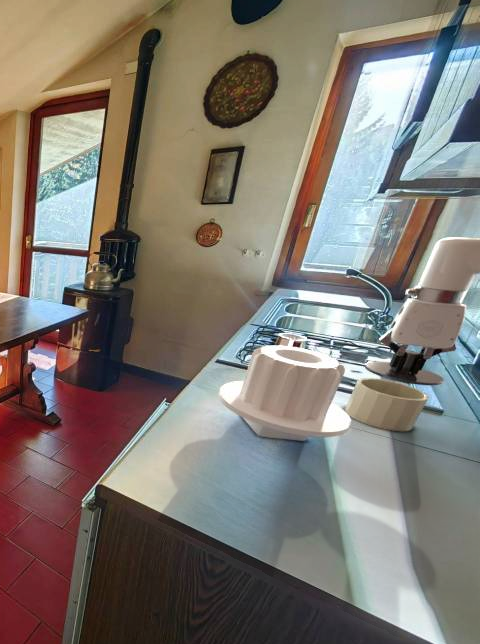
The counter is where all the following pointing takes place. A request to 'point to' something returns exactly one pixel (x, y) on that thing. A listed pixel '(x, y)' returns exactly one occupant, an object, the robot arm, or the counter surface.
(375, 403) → the faceted cream dish
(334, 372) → the ribbed cylinder on disc
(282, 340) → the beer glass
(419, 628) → the counter surface
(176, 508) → the counter surface
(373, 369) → the lid
